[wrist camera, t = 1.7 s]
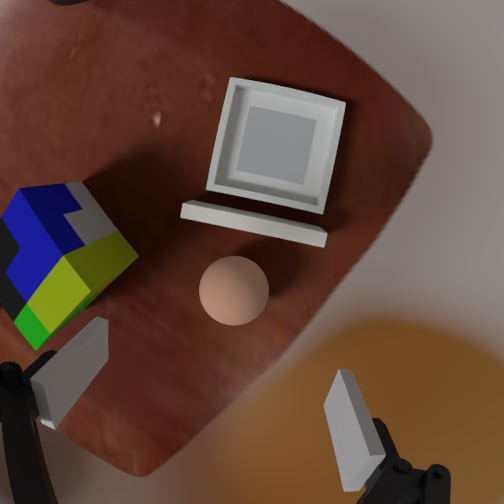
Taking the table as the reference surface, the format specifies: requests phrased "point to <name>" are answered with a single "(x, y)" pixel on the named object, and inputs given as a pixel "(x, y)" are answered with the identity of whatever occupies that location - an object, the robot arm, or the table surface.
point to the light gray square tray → (276, 145)
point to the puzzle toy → (56, 257)
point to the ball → (234, 290)
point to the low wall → (254, 222)
